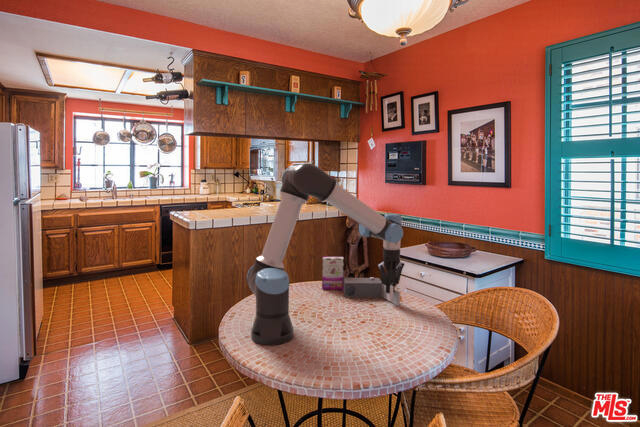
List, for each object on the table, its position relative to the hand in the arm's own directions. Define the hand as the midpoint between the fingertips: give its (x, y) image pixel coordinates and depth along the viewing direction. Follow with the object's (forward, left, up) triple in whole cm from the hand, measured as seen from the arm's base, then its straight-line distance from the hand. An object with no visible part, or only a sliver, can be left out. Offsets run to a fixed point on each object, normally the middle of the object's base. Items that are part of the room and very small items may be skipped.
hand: (389, 299), depth 162 cm
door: (+2, +4, -2) cm, 5 cm away
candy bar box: (-24, +24, -3) cm, 34 cm away
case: (-10, +15, -2) cm, 18 cm away
